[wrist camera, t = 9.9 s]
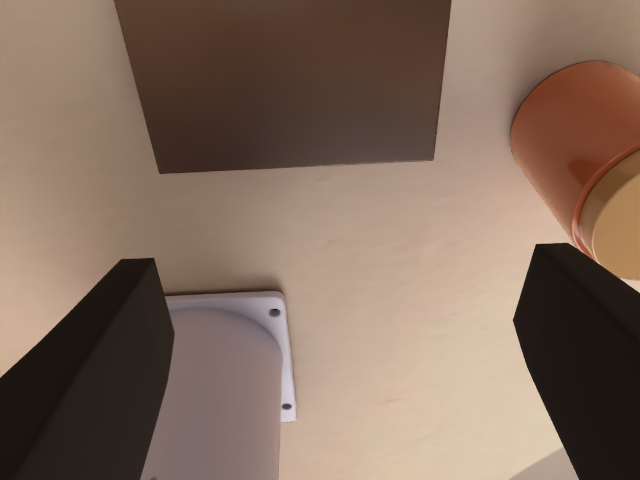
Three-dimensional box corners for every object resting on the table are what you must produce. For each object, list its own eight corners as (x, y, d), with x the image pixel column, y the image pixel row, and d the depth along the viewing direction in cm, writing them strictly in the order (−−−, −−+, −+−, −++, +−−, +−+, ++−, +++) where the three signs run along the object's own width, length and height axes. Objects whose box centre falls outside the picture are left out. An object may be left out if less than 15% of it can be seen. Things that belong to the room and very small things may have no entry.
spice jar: (618, 177, 20) (720, 282, 15) (499, 183, 20) (564, 290, 15) (662, 56, 17) (807, 138, 12) (524, 63, 17) (613, 147, 12)
